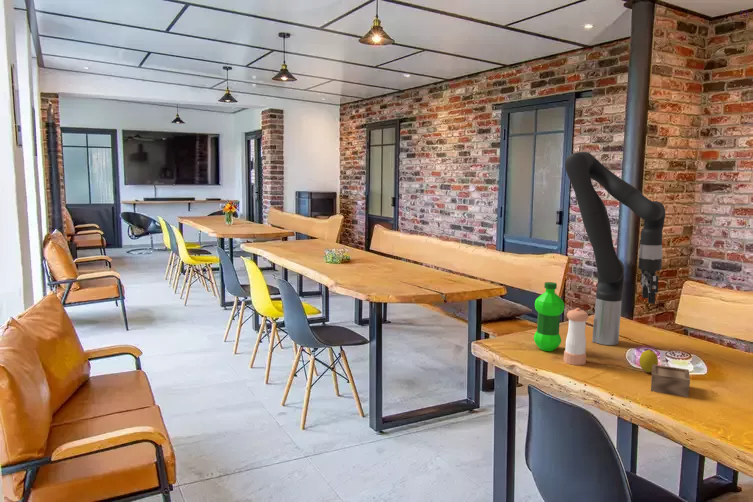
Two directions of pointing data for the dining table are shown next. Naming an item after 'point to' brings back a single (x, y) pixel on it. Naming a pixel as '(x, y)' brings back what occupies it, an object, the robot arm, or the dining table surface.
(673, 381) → the walnut box
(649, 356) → the lemon
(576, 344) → the salt shaker
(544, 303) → the plastic bottle
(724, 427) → the dining table surface
